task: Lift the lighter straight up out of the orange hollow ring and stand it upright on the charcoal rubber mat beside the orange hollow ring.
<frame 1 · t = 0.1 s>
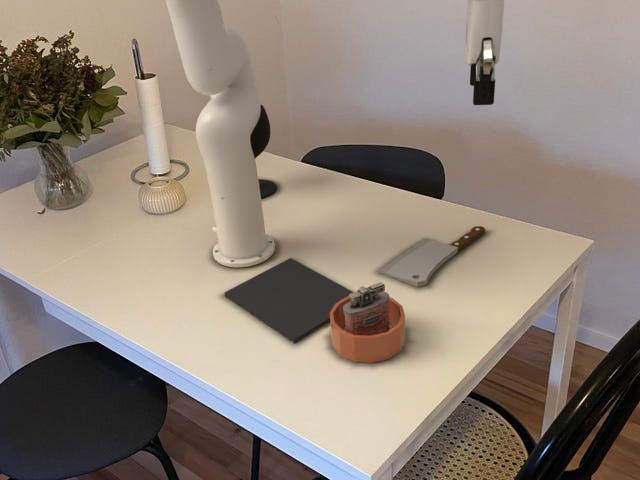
hand: (481, 94, 111), 31 cm above the table, tool pointing down, fingers open, 9 cm apart
kitchen cleaver: (437, 254, 129), on the table
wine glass: (255, 190, 160), on the table
mat: (292, 298, 120), on the table
orange hollow ring: (368, 338, 109), on the table
lighter: (368, 339, 109), resting in orange hollow ring
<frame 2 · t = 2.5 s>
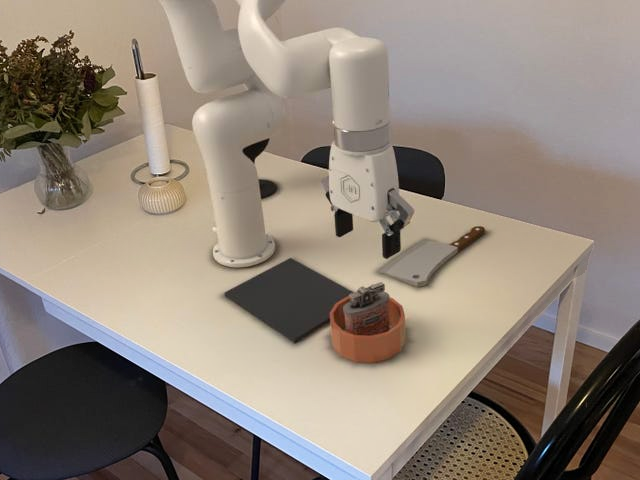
hand: (367, 243, 99), 18 cm above the table, tool pointing down, fingers open, 9 cm apart
nothing on the table moved.
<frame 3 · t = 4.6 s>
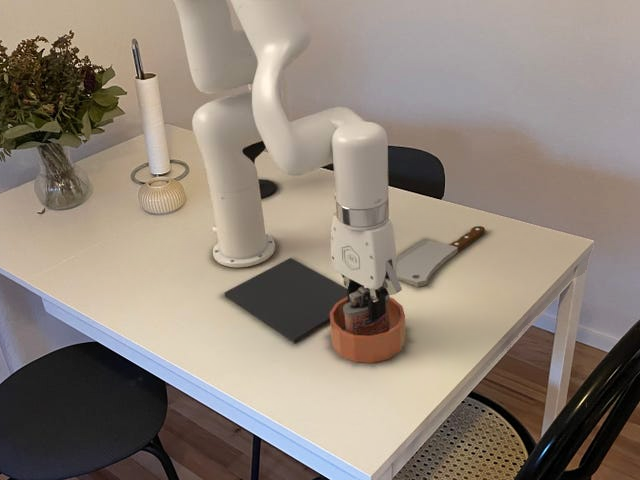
hand: (366, 310, 106), 6 cm above the table, tool pointing down, fingers closed on lighter, 3 cm apart
lighter: (368, 339, 109), resting in orange hollow ring, touching gripper
everything else where it was.
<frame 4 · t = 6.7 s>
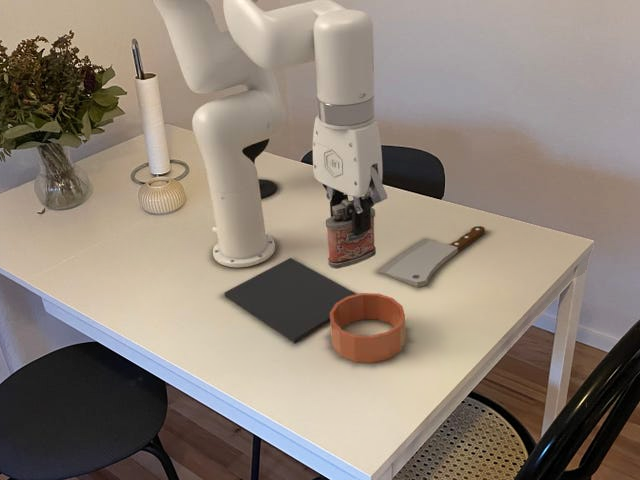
hand: (350, 225, 100), 20 cm above the table, tool pointing down, fingers closed on lighter, 3 cm apart
lighter: (352, 259, 103), point 14 cm above the table, touching gripper
everything else where it was.
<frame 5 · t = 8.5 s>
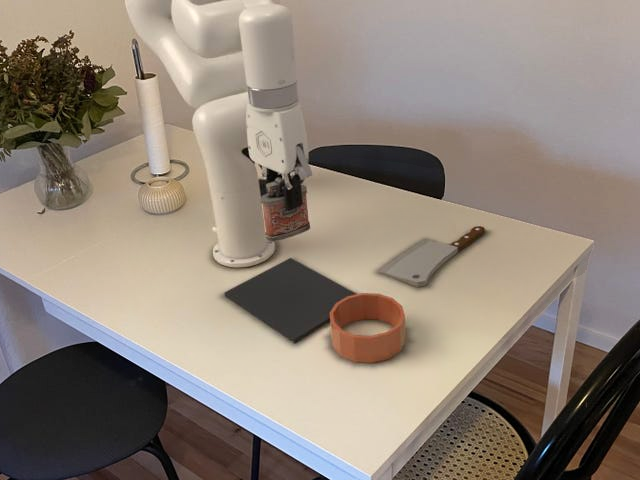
hand: (284, 202, 109), 20 cm above the table, tool pointing down, fingers closed on lighter, 3 cm apart
lighter: (288, 233, 112), point 14 cm above the table, touching gripper
everything else where it was.
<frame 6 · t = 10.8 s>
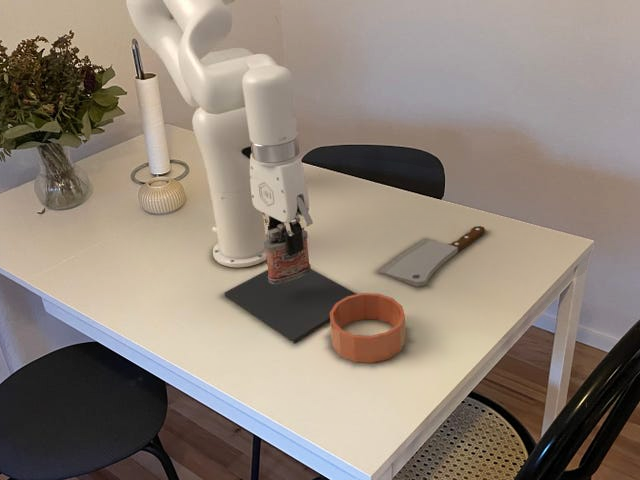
hand: (286, 246, 114), 11 cm above the table, tool pointing down, fingers closed on lighter, 3 cm apart
lighter: (290, 275, 118), point 5 cm above the table, touching gripper
everything else where it was.
when the fingers open (7 cm above the table, at t = 12.4 s): lighter stays where it is, resting on mat.
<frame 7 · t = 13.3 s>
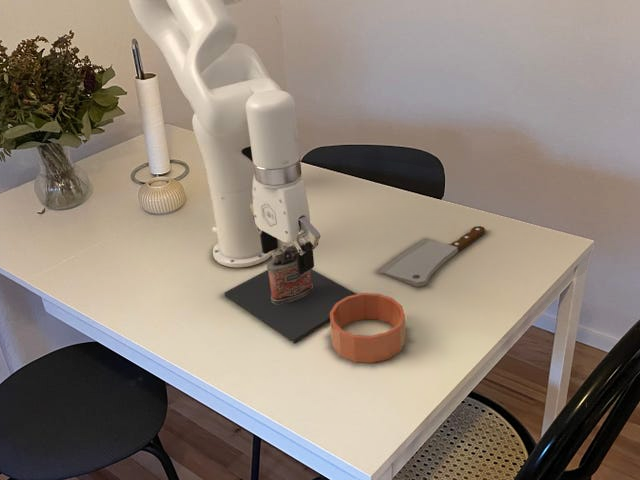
hand: (287, 260, 116), 8 cm above the table, tool pointing down, fingers open, 9 cm apart
lighter: (292, 295, 120), point 1 cm above the table, touching mat
everything else where it was.
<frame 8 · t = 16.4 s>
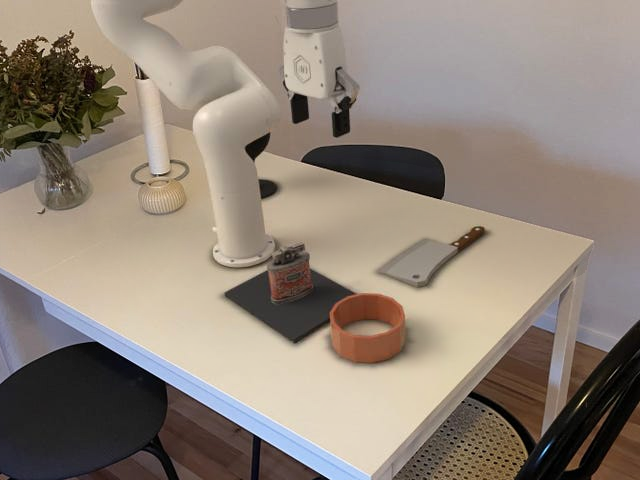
hand: (320, 127, 107), 30 cm above the table, tool pointing down, fingers open, 9 cm apart
nothing on the table moved.
at the end: lighter inside the target area on the mat (0.1 cm from its centre), point 0.6 cm above the mat's base; lighter tilted 0°; lighter touching mat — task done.
